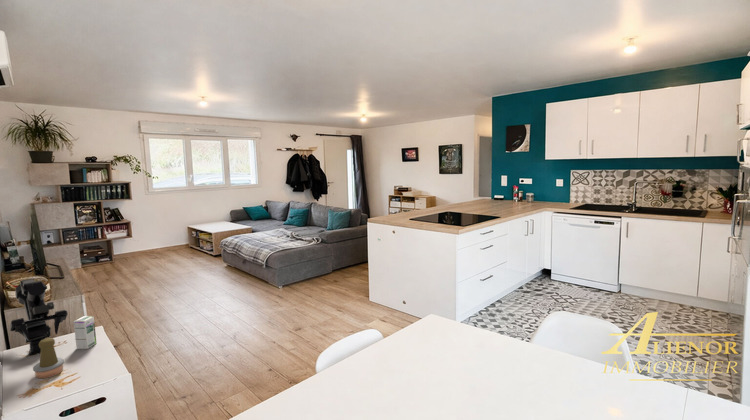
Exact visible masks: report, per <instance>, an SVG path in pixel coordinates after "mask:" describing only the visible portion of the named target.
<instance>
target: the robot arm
mask: <svg viewBox="0 0 750 420" xmlns="http://www.w3.org/2000/svg"><path fill="white" fill-rule="evenodd" d="M42 281H43V280H37V281H35V278H29V279H27V278H26V279H22V280H20V283H19V285H17V286H16V287H15V288H14V289H15V290H14V291H15V292H14V293H15V300H17V301H18V304H21V305H23V306H24V309H25V313H26V314H25V315H26V317H27V319H26V320H25V319H24V317H22V318H21V317H20V318H15V319H12V320H11V321H10V324H9V331H10V332H14V333H19V334H20V335H21V336H23V338H24V342H25V343H26V344H28V343H29V351H28V356H31V355H32V356H33V355H37V354H40V352H41V348H39V342H40V341H41V340H43V339H46V338H50V337H51V335H52V333H51V330H52V329H51V326H49V324H47V321H50V320H54V322H53V326H54V333H55V335H58V334H59V333H58V332H59V328H60V323H63V321H65V320H66V319H67V317H68V310H66V309H62V310H57V311H55V313H54V314H51V315H50V310H51V311H52V310H54V309H55V304H54V301H51V302H47V303H46V302H45V296H46V291H47V289H48V286H47V285H46V284H45V283H44V282H42Z"/></svg>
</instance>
